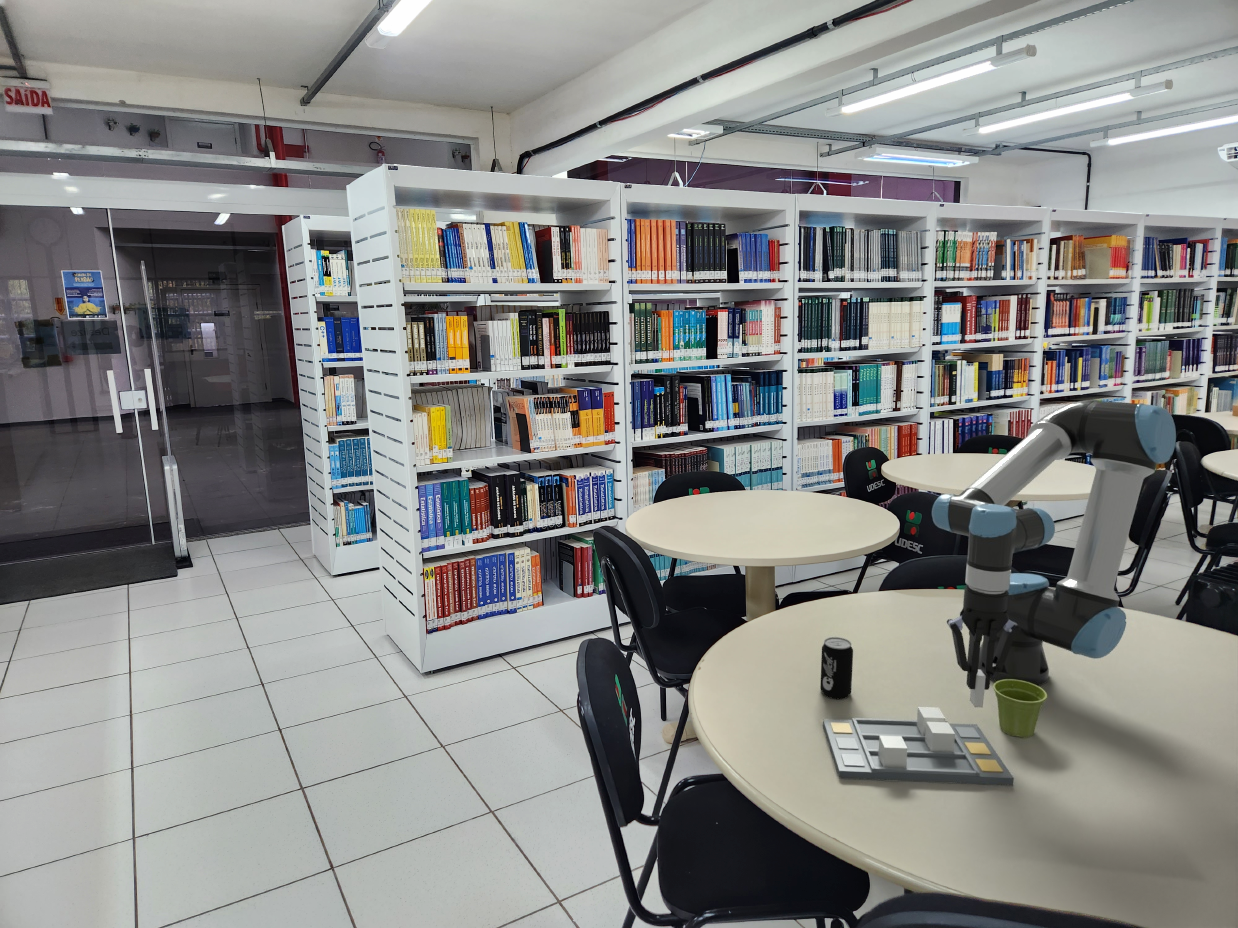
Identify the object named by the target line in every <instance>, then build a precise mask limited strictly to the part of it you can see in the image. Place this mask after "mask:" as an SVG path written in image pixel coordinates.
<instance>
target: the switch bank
mask: <svg viewBox="0 0 1238 928" xmlns="http://www.w3.org/2000/svg"><path fill="white" fill-rule="evenodd" d="M945 722H948V723H949V725H950V726H951V728H952V730H953V731H954V733H955V741H954V752H934V751H930V749H929V747H928V745H927V744H926V742H925V736H923V735H922V734H921V732H920V731H919V729H918V727H917V719H896V718H894V719H893V718H870V717H869V718H866V717H864V718H863V717H852V718H851V719H834V718H832V719H826V718H824V719H823V720H822V727H823V731H824V733H825V737H826V741H827V743H828V747H829V750H830V753H831V756H832V760H833V763H834V765H835V769H836V774H837V775H838V779H844V780H845V779H847V780H848V779H849V780H871V781H873V780H874V781H892V782H894V781H895V782H897V781H898V782H918V783H919V782H920V783H937V784H938V783H941V784H942V783H943V784H945V783H946V784H963V785H964V784H965V785H966V784H967V785H968V784H969V785H987V786H988V785H991V786H1011V787H1012V786H1014V780H1015V778H1014V776H1013V775H1012V774H1011V772H1010V770H1009V769H1008V767H1007V766H1006V765H1005V763H1004V762H1003V760H1002V759H1001V757H1000V755H999V754H998V753H997V751H996V750H995V749H994V747H993V746H992V744H991V743H990V741H989V739H988V738H987V737H986V735H985V734H984V733H983V731H982V729H981V728H980V727H979V726H978V724H977V723H976V724H973V723H972V724H971V723H969V724H968V723H950V722H949V721H948V720H945ZM879 736H902V738H903V740H904V742H905V744H906V746H907V764H906V768H895V767H883V765H882V763H881V761H880V758H879V756H878V750H879Z"/></svg>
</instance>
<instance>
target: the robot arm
mask: <svg viewBox="0 0 1238 928" xmlns="http://www.w3.org/2000/svg"><path fill="white" fill-rule="evenodd" d="M1176 432H1177V431H1176V425H1175V422H1174V419H1173V417H1172V415H1171V413H1170V412H1169V410H1167V409H1166V408H1164V407H1163V406H1158V405H1152V404H1145V403H1141V402H1140V403H1135V402H1134V403H1133V402H1121V401H1120V402H1119V401H1118V402H1117V401H1108V400H1094V399H1087V400H1080V401H1075V402H1072V403H1069V404H1066V405H1064V406H1062V407H1059V408H1057V409H1054V410H1053V411H1051V412H1048V413H1047V414H1046V415H1044V416H1043V417H1041V418H1040V419H1039V420H1038V421H1036V422H1035V423H1033V425H1031V426H1030V428H1029V429H1028V432H1027V436H1026V437H1024V439H1022V440H1021V441H1020V442H1019V443H1018V444H1017V445H1015V446H1014V447H1013V448H1012V449H1011V450H1010V451H1008V452H1007V453H1006V454H1005V455H1003V457H1001V458H1000V459H999V460H998V461H997V462H995V464H993V465H992V466H991V467H990V468H988V469H987V470H986V471H985V472H983V474H981V476H979V477H978V478H977V479H975V480H974V482H972V483H971V484H970V485H969V486H967V488H965V490H962V492H961V493H959V495H956V494H954V493H951V494H948V493H944V494H941V495H939V496H938V497H937V499H936V500H935V501H934V503H933V505H932V508H931V517H932V521H933V522H932V523H933V524H934V525H935V526H936V527H937V528H939V529H941V530H944V531H948V532H950V533H953V534H958V535H963V536H965V537H966V536H967V537H968V548H967V559H966V569H965V584H966V585H965V586H964V589H963V592H964V593H963V602H962V605H963V606H962V610H961V611H960V612H959V616H958V617H956V618H954V619H953V618H949V619H947V620H946V623H947V626H948V627H949V628H950V630H951V636H952V640H953V645H954V651H955V656H956V662H957V665H958V666H959V667H960V669H961V670H962V671H963V672H966V673H967V674H966V686H967V687H968V688H969V690H970V691H969V692H970V694H969V695H970V696H969V702H970V703H971V704H972V706H973V708H984V700H985V699H984V698H985V690H986V691H987V690H989V689H990V688H991V687H990V685H991V681H994V682H995V683H996V682H997V681H1000V680H1006V679H1012V680H1021V681H1025V682H1029V683H1032V684H1034V685H1037V686H1039V687H1040V686H1042V685H1044V684H1045V683H1047V682H1048V680H1049V672H1050V669H1049V665H1048V660H1047V658H1046V654H1045V649H1044V646H1043V643H1045V644H1046V643H1047V644H1050V645H1052V646H1055V647H1057V648H1061V649H1064V650H1065V651H1068V652H1072V653H1073V654H1074V655H1079V656H1083V657H1087V658H1091V659H1102V658H1104V657H1106V656H1108V655H1109V654H1111V652H1112V651H1114V649H1116V647H1117V646H1118V644H1119V643H1120V641H1121V640H1122V638H1123V635H1124V633H1125V631H1126V628H1127V627H1126V626H1127V615H1126V613H1125V610H1123V609H1121V607H1119V603H1120V598H1119V596H1118V594H1117V593H1116V590H1115V589H1114V588H1115V584H1116V582H1117V581H1116V580H1117V577H1118V574H1119V570H1120V567H1121V563H1122V559H1123V555H1124V552H1125V548H1126V545H1127V541H1128V537H1129V534H1130V529H1131V525H1132V524H1133V519H1134V515H1135V511H1136V508H1137V504H1138V501H1139V496H1140V493H1141V489H1142V487H1143V482H1144V480H1145V478H1147V477H1149V476H1150V475H1153V474H1154V473H1155V471H1156V467H1157V465H1158V464H1165V463H1167V462H1168V461H1170V459H1171V457H1172V456H1173V453H1174V451H1175V448H1176V441H1177V439H1176V438H1177V435H1176V434H1177V433H1176ZM1072 453H1073V454H1074V453H1086V454H1091V456H1090V462H1091V464H1092V465H1093V466H1094V468H1095V473H1094V477H1093V481H1092V485H1091V487H1090V488H1091V489H1090V492H1089V496H1088V499H1087V503H1086V506H1085V511H1084V514H1083V517H1082V521H1081V525H1080V529H1079V532H1078V537H1077V540H1076V543H1075V547H1074V550H1073V554H1072V558H1071V562H1070V564H1069V565H1070V566H1069V569H1068V572H1067V576H1066V577H1065V578H1063V579H1061V580H1059V581H1058V582H1057V583H1056V586H1055V589H1053V588H1050V587H1049V586H1050V582H1049V580H1048V579H1047V578H1046V577H1044V576H1043V575H1039V574H1034V573H1017V572H1016V573H1012V563H1013V561H1012V560H1013V557H1014V556H1013V554H1015V553H1019V552H1022V551H1028V550H1033V549H1038V548H1040V547H1041V546H1044V545H1046V544H1048V543H1049V542H1050V541H1051V540H1052V539H1053V537H1054V535H1055V532H1056V528H1055V527H1056V526H1055V522H1054V520H1053V518H1052V516H1051V515H1050V514H1049V512H1047V511H1046V510H1044V509H1042V508H1040V507H1038V508H1037V507H1025V508H1023V509H1021V508H1015V507H1011V506H1006V505H1007V504H1008V503H1009V502H1010V501H1011V500H1012V499H1014V497H1016V496H1017V495H1018V494H1019V493H1020V492H1021V491H1022V490H1024V488H1026V486H1028V485H1029V484H1030V483H1031V482H1033V480H1034V479H1036V478H1037V477H1038V476H1039V475H1040V474H1041V473H1042V472H1044V471H1045V470H1046V469H1047V468H1048V467H1049V466H1050V465H1051V464H1052V463H1054V462H1055V461H1060V460H1063V459H1065V458H1066V457H1068V456H1069V455H1070V454H1072ZM963 623H964V626H965V627H966V628H967V629H968V636H969V639H968V647H967V648H968V649H967V650H968V651H967V652H966V647H965V642H964V637H963V633H962V631H963V628H964V627H963Z"/></svg>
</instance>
